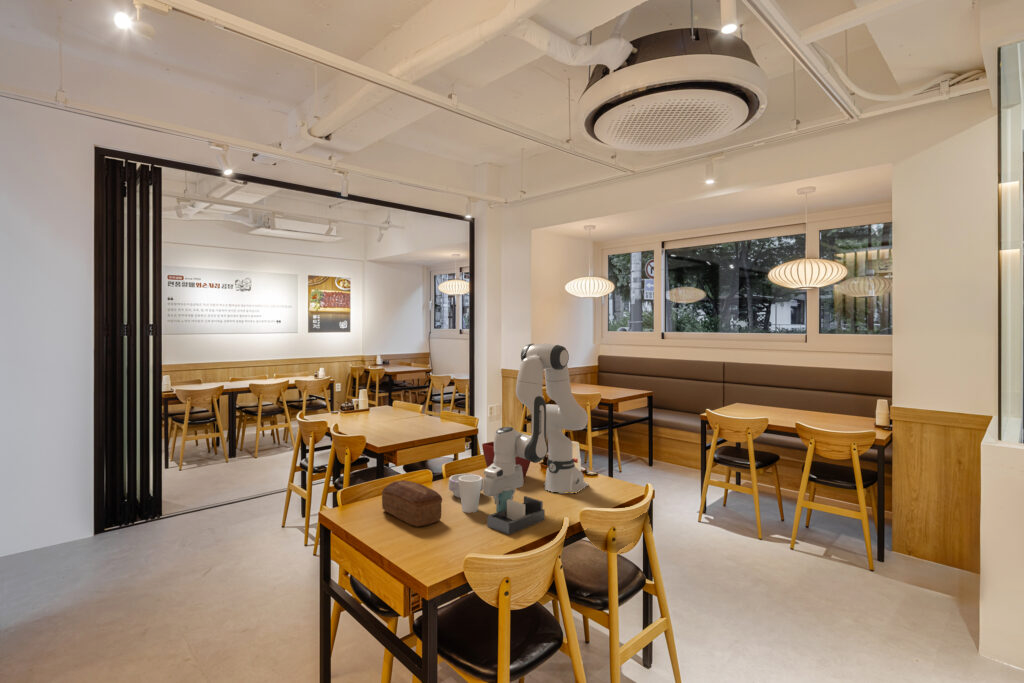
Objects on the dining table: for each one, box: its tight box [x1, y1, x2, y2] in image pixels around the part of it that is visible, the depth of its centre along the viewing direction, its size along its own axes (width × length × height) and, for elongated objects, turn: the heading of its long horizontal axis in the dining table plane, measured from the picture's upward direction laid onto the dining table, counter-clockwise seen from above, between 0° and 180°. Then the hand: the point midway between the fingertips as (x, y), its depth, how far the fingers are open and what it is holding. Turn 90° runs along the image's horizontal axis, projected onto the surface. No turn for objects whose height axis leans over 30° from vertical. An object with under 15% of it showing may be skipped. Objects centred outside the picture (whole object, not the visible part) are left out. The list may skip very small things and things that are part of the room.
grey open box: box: [486, 495, 546, 536], centre depth 185 cm, size 20×11×7 cm, turn 137°
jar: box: [495, 486, 512, 513], centre depth 197 cm, size 6×6×10 cm
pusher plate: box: [507, 499, 525, 520], centre depth 184 cm, size 1×8×7 cm, turn 46°
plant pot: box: [481, 441, 532, 479], centre depth 245 cm, size 19×19×17 cm
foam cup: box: [459, 474, 483, 514], centre depth 198 cm, size 10×9×13 cm
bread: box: [381, 479, 443, 527], centre depth 191 cm, size 14×28×12 cm, turn 44°
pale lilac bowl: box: [448, 473, 484, 499], centre depth 216 cm, size 15×15×8 cm
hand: (503, 502), depth 198 cm, fingers closed on jar, 6 cm apart
